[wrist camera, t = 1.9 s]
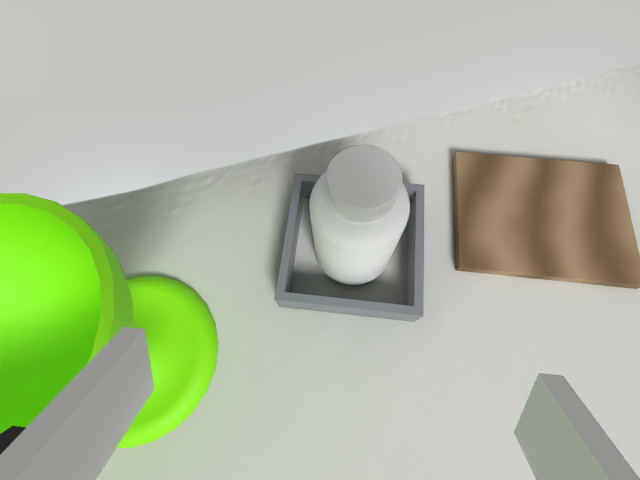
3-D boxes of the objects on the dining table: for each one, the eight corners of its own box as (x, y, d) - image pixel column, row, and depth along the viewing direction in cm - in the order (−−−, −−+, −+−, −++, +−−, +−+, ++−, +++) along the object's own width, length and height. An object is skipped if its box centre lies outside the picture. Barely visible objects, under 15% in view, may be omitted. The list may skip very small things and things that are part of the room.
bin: (416, 200, 40) (424, 184, 36) (414, 321, 35) (423, 316, 32) (297, 189, 41) (295, 173, 37) (279, 306, 36) (274, 299, 32)
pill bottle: (335, 206, 40) (338, 113, 26) (400, 236, 38) (442, 155, 24) (301, 265, 37) (284, 198, 23) (369, 300, 36) (396, 251, 22)
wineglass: (44, 310, 36) (-203, 253, 19) (194, 253, 38) (88, 156, 21) (65, 480, 31) (-256, 606, 14) (239, 403, 32) (144, 431, 16)
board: (610, 170, 40) (618, 164, 39) (636, 288, 35) (646, 285, 34) (452, 157, 42) (456, 151, 41) (455, 270, 37) (459, 266, 35)
